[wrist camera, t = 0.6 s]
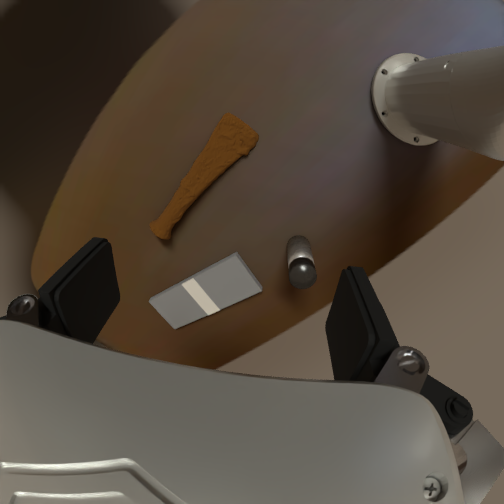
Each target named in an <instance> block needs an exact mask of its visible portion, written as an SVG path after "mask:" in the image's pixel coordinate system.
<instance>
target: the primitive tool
mask: <svg viewBox="0 0 504 504" xmlns="http://www.w3.org/2000/svg"><path fill="white" fill-rule="evenodd" d="M258 139H259V135H258V134H257V133H256V132H255V131H254V130H253V129H252V128H251V127H250V126H249V125H247V124H245V123H244V122H243V121H242V120H240V119H239V118H237V117H236V116H234V115H232V114H230V113H226V114H225V115H224V116H223V117H222V119H221V120H220V122H219V123H218V125H217V126H216V128H215V130H214V131H213V133H212V135H211V137H210V139H209V141H208V143H207V144H206V146H205V147H204V149H203V151H202V152H201V154H200V155H199V156H198V157H197V159H196V160H195V161H194V163H193V166H192V167H191V169H190V171H189V172H188V174H187V175H186V176H185V177H184V179H182V181H181V182H180V186H179V188H178V190H177V191H176V192H175V194H174V196H173V198H172V199H171V201H170V202H169V204H168V205H167V206H166V208H165V210H164V211H163V213H162V214H161V215H160V216H159V218H158V219H157V220H155V221H152V222H151V223H150V228H151V230H152V232H153V233H154V234H155V235H156V236H157V237H159V238H160V239H170V238H171V230H172V228H173V226H174V225H175V223H176V222H177V221H179V220H180V219H181V217H182V215H183V214H184V212H185V211H186V210H187V209H188V207H189V206H191V204H192V203H193V202H194V201H195V200H196V199H197V198H198V197H199V196H200V195H201V193H202V192H203V191H204V190H205V189H206V188H208V187H209V186H210V185H211V184H212V182H213V181H215V180H216V179H217V178H218V176H219V175H221V174H223V173H224V171H225V170H226V169H227V168H228V167H229V166H231V165H232V164H233V163H234V162H235V161H236V160H237V159H238V158H240V157H241V156H242V155H248V153H249V151H250V150H251V149H252V148H253V147H255V146H256V142H257V141H258Z"/></svg>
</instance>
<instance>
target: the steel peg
mask: <svg viewBox="0 0 504 504" xmlns="http://www.w3.org/2000/svg"><path fill="white" fill-rule="evenodd" d="M287 254H288V268H289V281H290V283H291V284H292V285H293V286H294V287H296V288H299V289H306V288H309V287H311V286H312V285H313V284H314V283H315V281H316V278H317V275H316V270H315V266H314V261H313V256H312V252H311V248H310V243H309V241H308V239H307V238H306V237H304V236H300V235H297V236H294V237H292V238H290V239H289V241H288V243H287Z"/></svg>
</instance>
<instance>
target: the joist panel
mask: <svg viewBox="0 0 504 504" xmlns="http://www.w3.org/2000/svg"><path fill="white" fill-rule="evenodd" d="M261 291H262V286H261V285H260V283H259V282H258V280H257V279H256V278H255V276H254V275H253V274H252V272H251V271H250V269H249V268H248V267H247V265H246V264H245V263H244V261H243V260H242V258H241V257H240V256H239V254H238V253H237V252H236V253H234V254H232V255H230V256H228V257H226V258H224V259H223V260H221V261H219V262H217V263H215V264H213V265H211V266H209V267H207V268H206V269H204V270H202V271H200V272H198V273H196V274H194V275H193V276H191V277H189V278H187V279H185V280H183V281H181V282H179V283H178V284H176V285H174V286H172V287H170V288H168V289H166V290H165V291H163V292H161V293H159V294H157V295H155V296H153V297H152V298H150V300H149V302H150V303H151V305H152V306H153V307H154V308H155V309H156V310H157V311H158V312H159V313H160V314H161V315H162V316H163V318H164V319H165V320H166V321H167V322H168V323H169V324H170V325H171V326H172V327H173V328H174V329H176V328H179V327H181V326H184V325H186V324H188V323H191V322H193V321H195V320H198V319H200V318H202V317H205V316H207V315H210V314H213V313H215V312H217V311H219V310H221V309H223V308H225V307H228V306H230V305H232V304H234V303H237V302H239V301H241V300H243V299H245V298H248V297H250V296H252V295H254V294H256V293H259V292H261Z"/></svg>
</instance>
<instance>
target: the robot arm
mask: <svg viewBox="0 0 504 504" xmlns="http://www.w3.org/2000/svg"><path fill="white" fill-rule="evenodd" d="M414 60H415V61H414ZM381 71H383V73H384V74H382V73H381ZM371 94H372V102H373V105H374V109H375V111H376V114H377V116H378V118H379V120H380V121H381V123H382V124H383V126H384V127H385V128H386V129H387V130H388V131H389V132H390V133H391V134H392V135H394V136H395V137H396V138H398V139H400V140H401V141H403V142H406V143H409V144H412V145H417V146H421V145H429V144H433V143H435V142H437V141H438V140H441V141H444V142H447V143H450V144H453V145H457V146H460V147H463V148H466V149H468V150H471V151H474V152H477V153H480V154H483V155H486V156H488V157H491V158H494V159H497V160H503V161H504V46H498V47H492V48H486V49H479V50H472V51H467V52H461V53H455V54H450V55H445V56H440V57H435V58H430V59H426V58H424V57H421V56H419V55H415V54H411V53H402V54H397V55H394V56H391V57H389V58H388V59H386V60H385V61H383V62H382V63H381V64H380V66H379V67H378V68H377V70H376V72H375V74H374V77H373V80H372V87H371ZM382 112H384V115H382ZM414 137H415V140H414ZM38 292H39V295H40V298H39V299H37V298H36V296H34V295H32V294H24V295H21V296H18V297H17V298H15V299H14V300H13V301H11V302H10V304H9V305H8V308H7V315H6V316H3V317H1V318H0V504H479V503H480V502H481V501H482V500H483V498H484V497H485V495H486V494H487V493H488V491H489V490H490V489H491V487H492V486H493V484H494V483H495V481H496V480H497V478H498V476H499V475H500V473H501V472H502V470H503V468H504V448H503V447H502V446H501V445H500V444H499V442H498V441H497V440H496V439H495V438H494V437H493V436H492V435H491V434H490V432H489V431H488V430H487V429H486V428H485V427H484V426H483V425H482V424H481V423H480V422H479V421H478V420H476V421H475V422H474V421H473V420H472V417H473V410H472V407H471V405H470V403H469V402H468V400H467V399H465V398H464V397H463V396H461V395H460V394H458V393H457V392H455V391H453V390H452V389H450V388H449V387H447V386H445V385H444V384H442V383H441V382H439V381H437V380H436V379H434V378H433V377H431V376H429V375H428V371H429V363H428V361H427V359H426V357H425V356H424V355H423V354H422V353H421V352H420V351H418V350H417V349H414V348H412V347H408V346H401V347H400V346H399V344H398V341H397V339H396V336H395V334H394V332H393V330H392V327H391V325H390V322H389V320H388V318H387V316H386V313H385V311H384V309H383V307H382V305H381V303H380V302H379V300H378V298H377V296H376V294H375V292H374V289H373V287H372V285H371V283H370V281H369V279H368V277H367V275H366V273H365V271H364V269H363V268H362V267H353V266H348V267H347V269H343V270H342V273H341V276H340V279H339V283H338V286H337V289H336V293H335V296H334V299H333V302H332V305H331V309H330V312H329V315H328V318H327V321H326V327H325V328H326V335H327V340H328V346H329V351H330V356H331V362H332V368H333V374H334V380H316V379H314V380H313V379H297V378H283V377H271V376H260V375H250V374H241V373H233V372H226V371H219V370H212V369H205V368H199V367H193V366H187V365H181V364H176V363H171V362H166V361H161V360H156V359H151V358H147V357H142V356H138V355H134V354H129V353H125V352H121V351H117V350H113V349H110V348H106V347H102V346H98V345H95V344H93V342H94V341H95V339H96V338H97V336H98V334H99V333H100V331H101V330H102V328H103V326H104V325H105V323H106V322H107V320H108V319H109V317H110V316H111V314H112V312H113V311H114V309H115V308H116V306H117V305H118V303H119V301H120V292H119V287H118V282H117V277H116V272H115V266H114V260H113V254H112V247H111V244H110V243H109V242H108V240H107V239H105V238H97V237H94V238H92V239H91V240H90V241H89V242H88V243H87V244H85V245H84V246H83V247H82V248H81V249H80V250H79V251H78V252H77V253H75V254H74V255H73V256H72V257H71V258H70V259H69V260H68V261H67V262H66V263H65V264H64V265H63V266H62V267H61V268H60V269H59V270H58V271H57V272H56V273H55V274H54V275H53V276H52V277H51V278H50V279H49V280H48V281H47V282H46V283H45V284H44V285H43V286H42V287H41V288H40V289H39V290H38Z"/></svg>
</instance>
